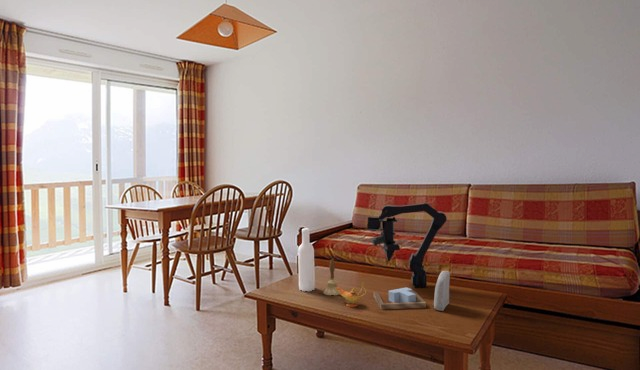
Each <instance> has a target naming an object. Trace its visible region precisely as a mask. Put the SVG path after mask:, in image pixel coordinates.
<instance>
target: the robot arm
mask: <svg viewBox="0 0 640 370" xmlns="http://www.w3.org/2000/svg"><path fill="white" fill-rule="evenodd" d="M420 212H425V213H426V214H428V215H429V216H430V217H432V218H431V221H430V226H429V229H428V231H427V232H426V233H425V236H424V238H423V239H422V242H421V244H420V246H419V247H418V249H417V251H416V252H412V253H411V256H410V258H409V259H408V265H409V266H408V267H409V269H410V271H412V273H411V276H410V278H411V280H410V281H411V285H412V286H413V288H428V287H429V285H427V284H428V282H427V280H428V279H427V271H426V267H425V266H424V265H423V263H424V260H425V256H426V254H427V251H428V250H429V248H430V246H431V245H432V243H433V241H434V239H435V236H436V235H437V232H439V230H440V229H441V228H442V227H443V226H444V225H445V224H446V222H447V215H446V213H444V212H443V211H440V210H439V211H438V210H437V209H435V208H434V207H432V205H430V204H429V203H428V202H423V203H415V204H406V205H396V204H395V205H394V204H386V205H384V206H383V207H382V210H381V214H379V215H378V216H368V217H367V224H366V225H367V226H366V228H367V231H379V230H380V229H382V231H381V232H380V235H377V236H373V237H372V238H370V242H371V244H372V245H373V247H377V246H379V245H381V247H380V248H382V249H383V251H384V253H385V257H386V260H387V262H390V261H391V259H392V257H393V255H394V253H395V251H400V249H401V248H400V247H401V246H400V245H399V244H398V243H396V240H395V235H396V232H395V231H394V230H395V226H394V225H395V223H396V222H398V219H397V218H396V217H395V216H399V215H402V214H409V213H420ZM385 218H386V219H385Z"/></svg>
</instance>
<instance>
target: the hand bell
mask: <svg viewBox="0 0 640 370" xmlns="http://www.w3.org/2000/svg"><path fill="white" fill-rule="evenodd" d="M328 267H329V272H330V277H329V278H330V279H329V280H328V281H327V284H326V288H325V290H324V291H323V294H324V295H326V296H331V295H334V296H338V295H341V294H340V293H339V292H338V291H337V290H336V289H335V288H334V287H333V286H332V285H336V286H338V282H337V280H335V269H336V265H335V261H334V259H330V262H329V266H328Z"/></svg>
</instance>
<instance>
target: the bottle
mask: <svg viewBox="0 0 640 370" xmlns="http://www.w3.org/2000/svg"><path fill="white" fill-rule="evenodd" d="M310 232H311V231H310V228H307V227H305V228H302V229H301V244H300V245H299V246H298V249H297V252H298V253H297V258H298V263H297V264H298V290H299V291H300V290H302V291H301V292H305V291H307V292H312V290H313V291H314V290H315V289H316V282H315V281H316V279H315V277H316V276H315V249H314V246H313V244H312V243H310Z"/></svg>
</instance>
